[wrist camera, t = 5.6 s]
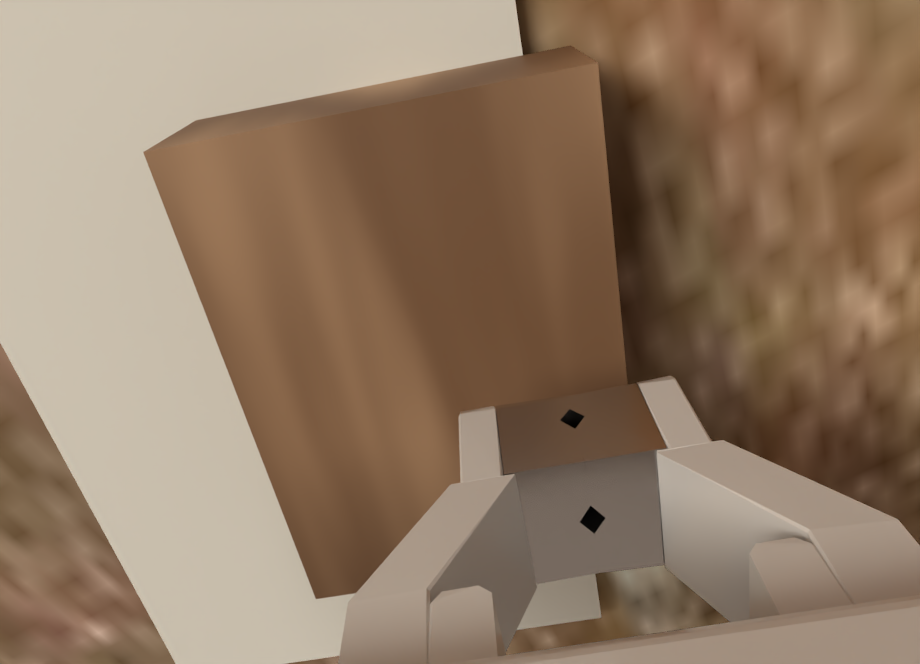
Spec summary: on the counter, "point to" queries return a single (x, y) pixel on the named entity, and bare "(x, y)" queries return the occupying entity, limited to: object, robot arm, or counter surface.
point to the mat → (182, 286)
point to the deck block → (398, 280)
